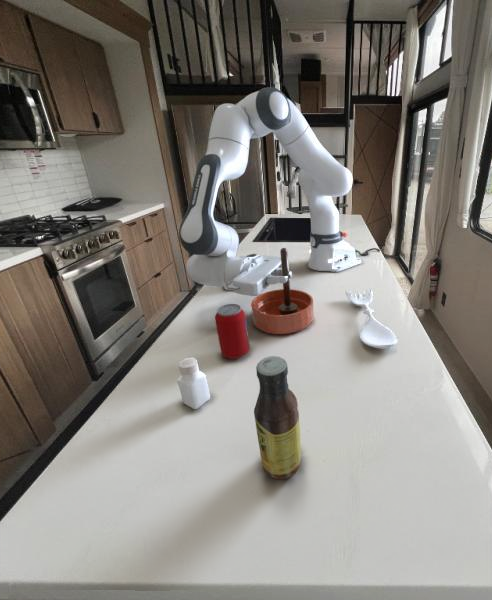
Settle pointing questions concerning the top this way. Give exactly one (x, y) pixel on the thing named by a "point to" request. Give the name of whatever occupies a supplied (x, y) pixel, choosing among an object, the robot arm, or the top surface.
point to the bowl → (274, 323)
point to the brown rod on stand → (286, 287)
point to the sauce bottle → (277, 420)
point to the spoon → (372, 324)
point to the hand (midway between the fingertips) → (288, 277)
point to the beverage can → (232, 331)
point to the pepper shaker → (192, 384)
